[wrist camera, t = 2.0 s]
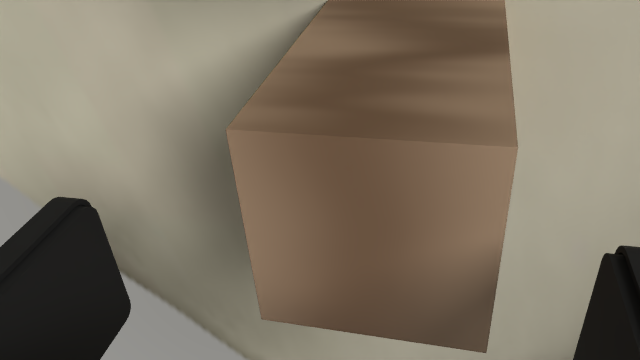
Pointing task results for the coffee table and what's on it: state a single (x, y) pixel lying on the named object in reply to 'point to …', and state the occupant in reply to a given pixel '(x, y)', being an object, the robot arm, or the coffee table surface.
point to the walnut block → (382, 171)
